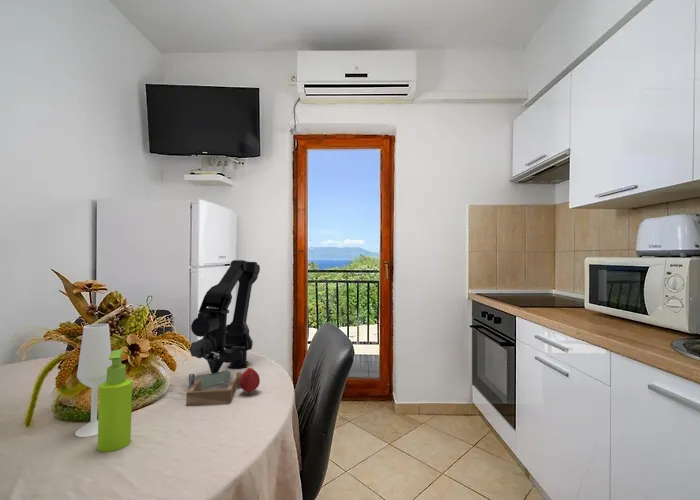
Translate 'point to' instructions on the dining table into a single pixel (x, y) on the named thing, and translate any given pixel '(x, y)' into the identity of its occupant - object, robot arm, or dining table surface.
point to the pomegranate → (249, 380)
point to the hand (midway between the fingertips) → (214, 377)
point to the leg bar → (214, 378)
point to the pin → (191, 380)
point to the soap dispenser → (115, 407)
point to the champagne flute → (93, 368)
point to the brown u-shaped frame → (212, 393)
